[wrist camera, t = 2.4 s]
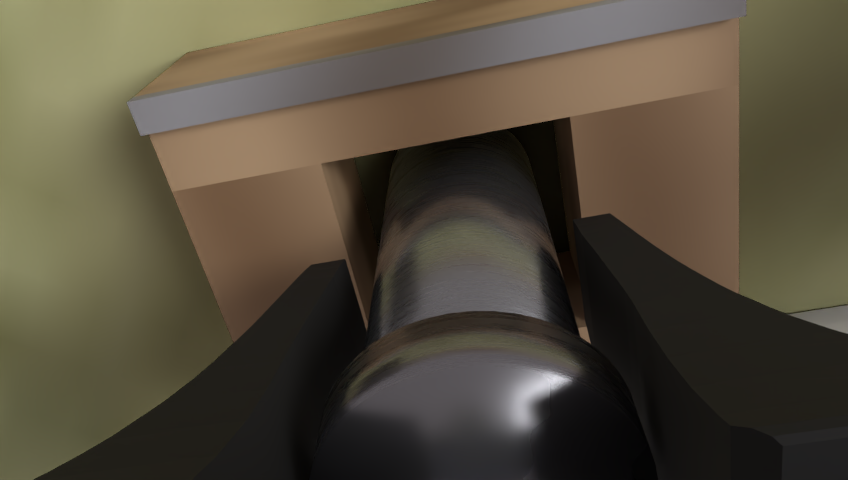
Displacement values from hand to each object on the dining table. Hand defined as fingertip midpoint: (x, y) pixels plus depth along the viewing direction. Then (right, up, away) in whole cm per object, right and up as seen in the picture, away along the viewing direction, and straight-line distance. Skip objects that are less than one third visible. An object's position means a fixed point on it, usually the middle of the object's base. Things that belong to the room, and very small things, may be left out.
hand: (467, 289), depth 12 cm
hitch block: (0, +2, +4) cm, 4 cm away
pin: (0, +2, +4) cm, 4 cm away
